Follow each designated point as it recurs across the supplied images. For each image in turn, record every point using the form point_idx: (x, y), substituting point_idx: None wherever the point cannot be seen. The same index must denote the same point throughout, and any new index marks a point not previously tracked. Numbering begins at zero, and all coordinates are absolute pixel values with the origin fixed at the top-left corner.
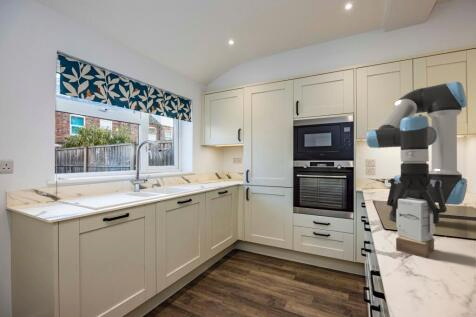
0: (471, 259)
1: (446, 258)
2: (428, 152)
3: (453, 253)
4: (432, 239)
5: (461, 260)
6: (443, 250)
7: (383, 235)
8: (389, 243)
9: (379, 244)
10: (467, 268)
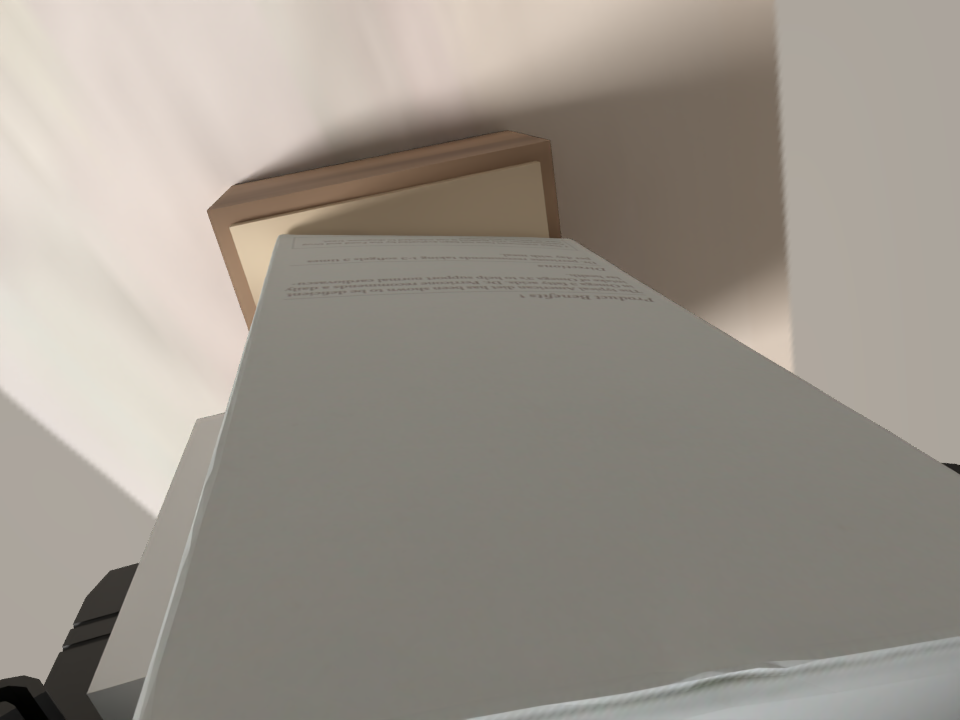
0: (779, 96)
1: (642, 276)
2: None
3: (650, 55)
4: (559, 224)
5: (727, 210)
6: (565, 41)
7: None
8: (154, 358)
9: (139, 479)
10: (773, 351)
